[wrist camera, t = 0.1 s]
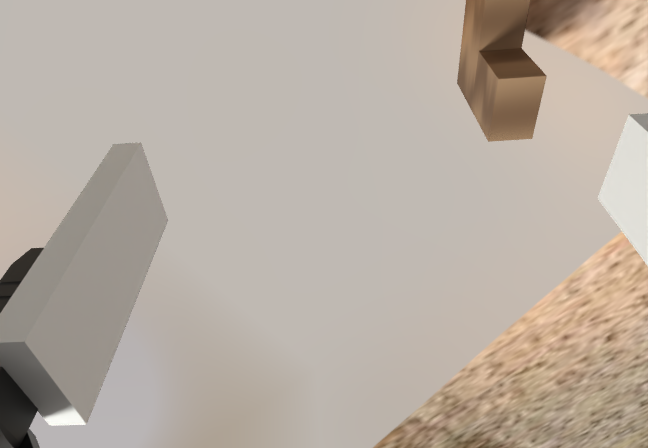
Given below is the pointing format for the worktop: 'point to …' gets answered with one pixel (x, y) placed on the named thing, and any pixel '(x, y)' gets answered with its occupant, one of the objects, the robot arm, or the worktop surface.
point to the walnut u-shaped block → (499, 69)
